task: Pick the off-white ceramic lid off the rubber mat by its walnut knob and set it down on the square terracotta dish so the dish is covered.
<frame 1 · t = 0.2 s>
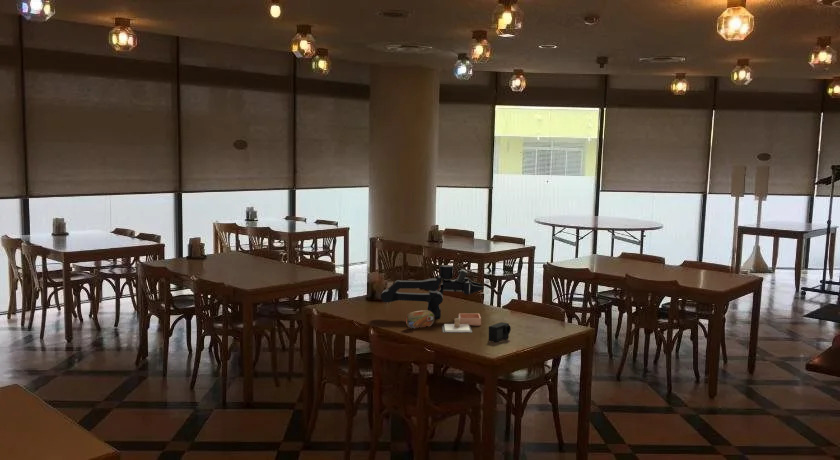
hand: (482, 286, 370), 17 cm above the table, tool horizontal, fingers open, 9 cm apart
digital camera: (499, 340, 331), on the table
mat: (456, 329, 348), on the table
tin: (419, 328, 353), on the table
dish: (469, 323, 361), on the table
lid: (456, 323, 348), on the mat
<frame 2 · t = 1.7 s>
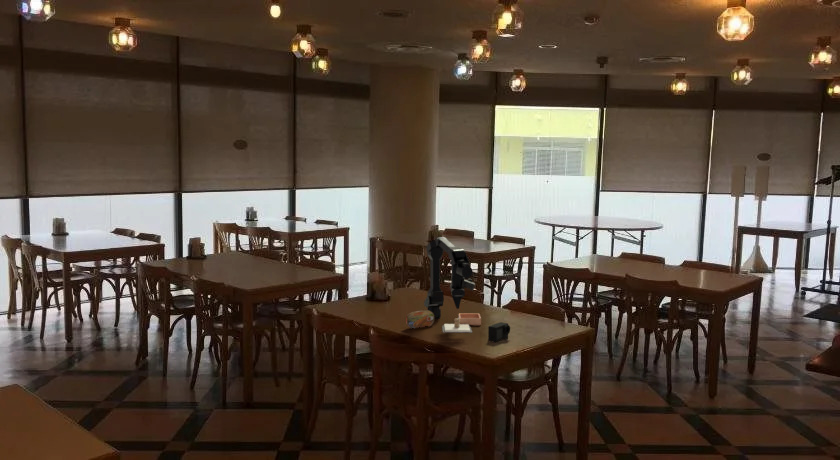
hand: (457, 306, 347), 11 cm above the table, tool pointing down, fingers open, 9 cm apart
nothing on the table moved.
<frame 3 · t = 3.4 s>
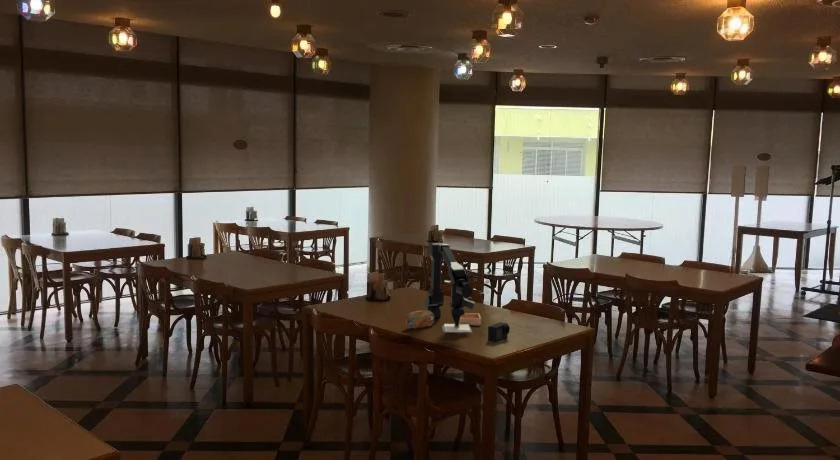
hand: (456, 325, 348), 2 cm above the table, tool pointing down, fingers closed on lid, 3 cm apart
lid: (456, 323, 348), on the mat, touching gripper
everything else where it was.
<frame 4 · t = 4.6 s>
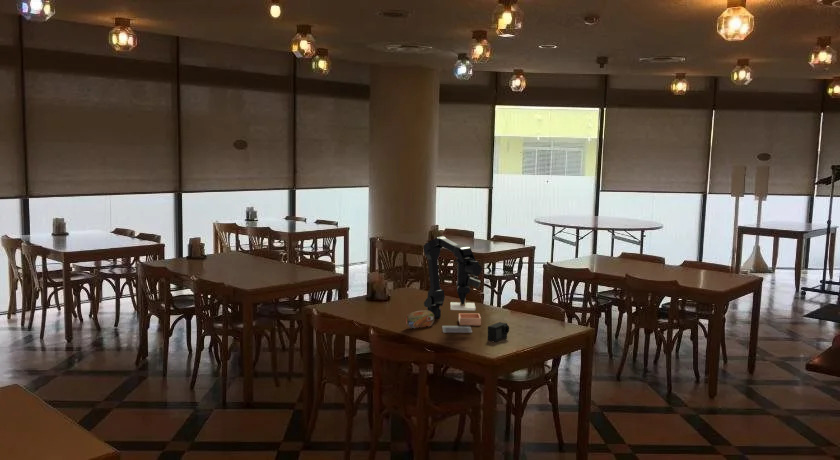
hand: (462, 303, 353), 12 cm above the table, tool pointing down, fingers closed on lid, 3 cm apart
lid: (462, 302, 353), point 12 cm above the table, touching gripper
everything else where it was.
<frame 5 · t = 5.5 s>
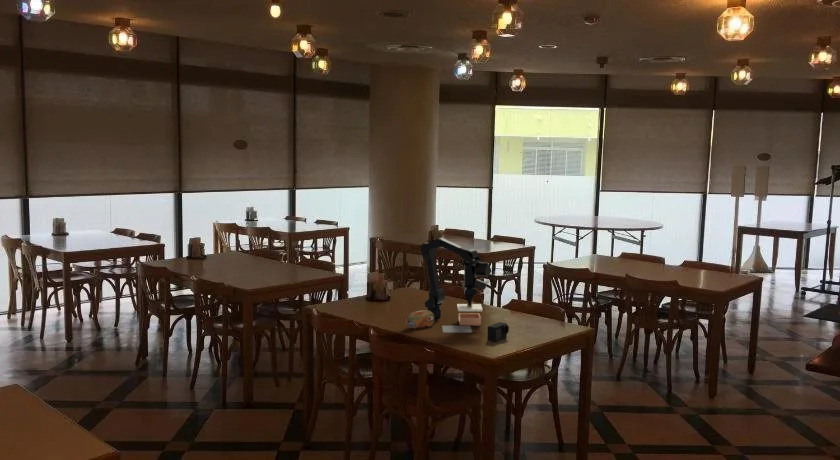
hand: (469, 305, 360), 9 cm above the table, tool pointing down, fingers closed on lid, 3 cm apart
lid: (469, 303, 359), point 10 cm above the table, touching gripper
everything else where it was.
when the fingers open (7 cm above the table, at t = 6.1 s): lid stays where it is, resting on dish.
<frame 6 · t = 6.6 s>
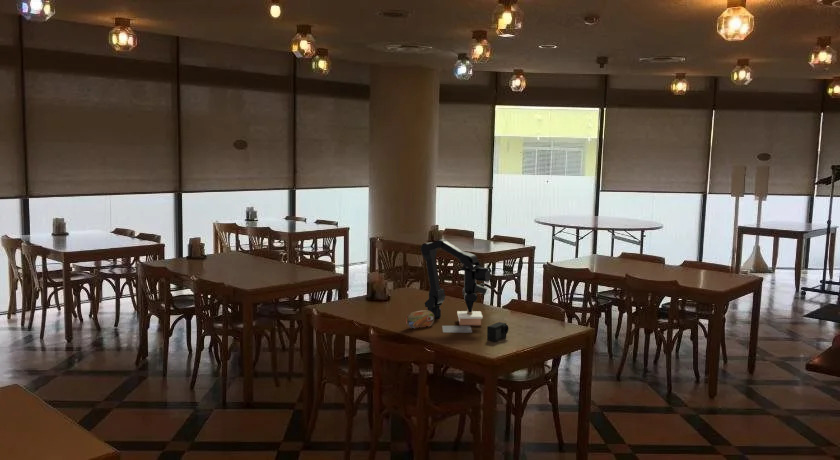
hand: (469, 310, 360), 7 cm above the table, tool pointing down, fingers open, 8 cm apart
lid: (469, 310, 360), on the dish, point 6 cm above the table
everything else where it was.
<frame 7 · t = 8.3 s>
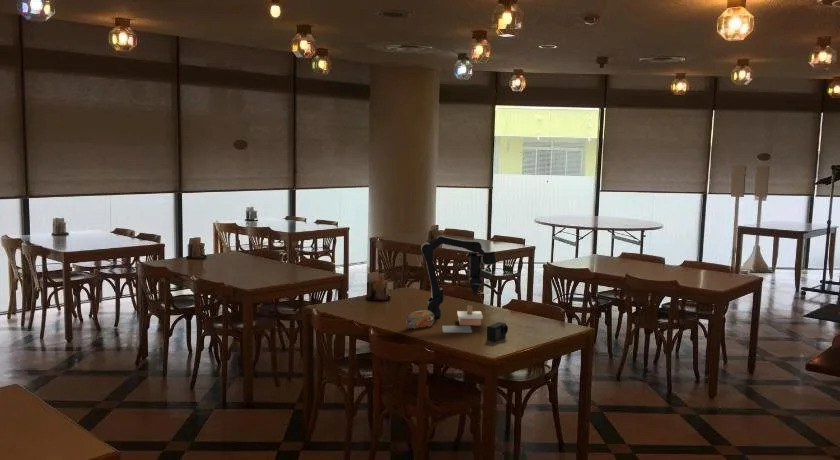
hand: (475, 294, 373), 12 cm above the table, tool pointing down, fingers open, 9 cm apart
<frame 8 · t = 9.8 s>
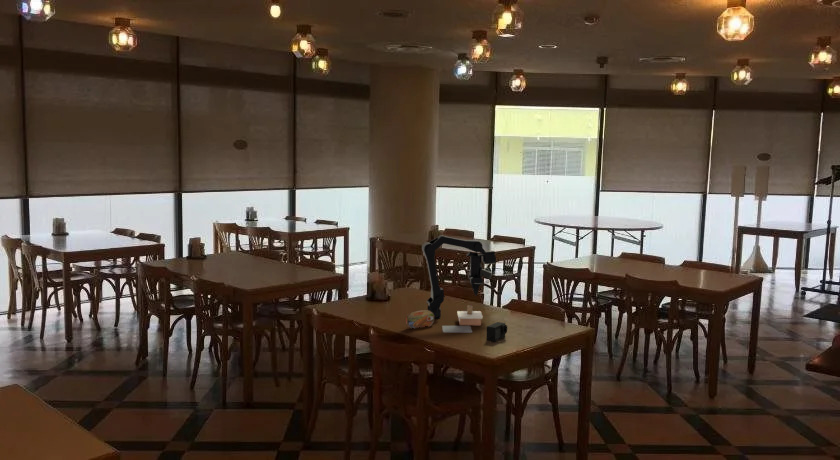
hand: (475, 293, 375), 12 cm above the table, tool pointing down, fingers open, 9 cm apart
at the end: lid 0.0 cm off-centre on the dish, point 6.5 cm above the dish's base; lid tilted 0°; the gripper is holding nothing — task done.
